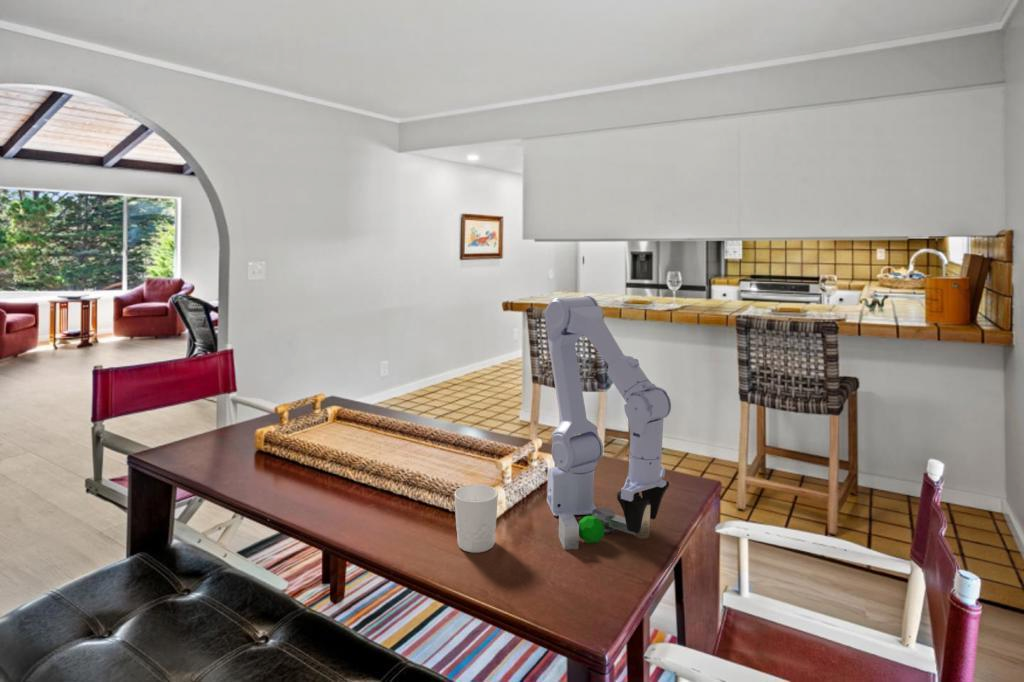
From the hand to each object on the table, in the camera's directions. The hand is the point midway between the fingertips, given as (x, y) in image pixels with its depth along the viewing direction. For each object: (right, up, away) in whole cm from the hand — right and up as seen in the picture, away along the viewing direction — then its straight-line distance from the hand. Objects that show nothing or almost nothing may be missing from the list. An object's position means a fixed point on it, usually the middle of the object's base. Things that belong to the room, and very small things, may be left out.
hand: (641, 524), depth 114 cm
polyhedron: (-9, -4, 0) cm, 10 cm away
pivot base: (-6, -3, +5) cm, 9 cm away
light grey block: (-14, -3, 0) cm, 14 cm away
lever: (-4, -2, +3) cm, 5 cm away
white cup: (-31, -4, -1) cm, 31 cm away
